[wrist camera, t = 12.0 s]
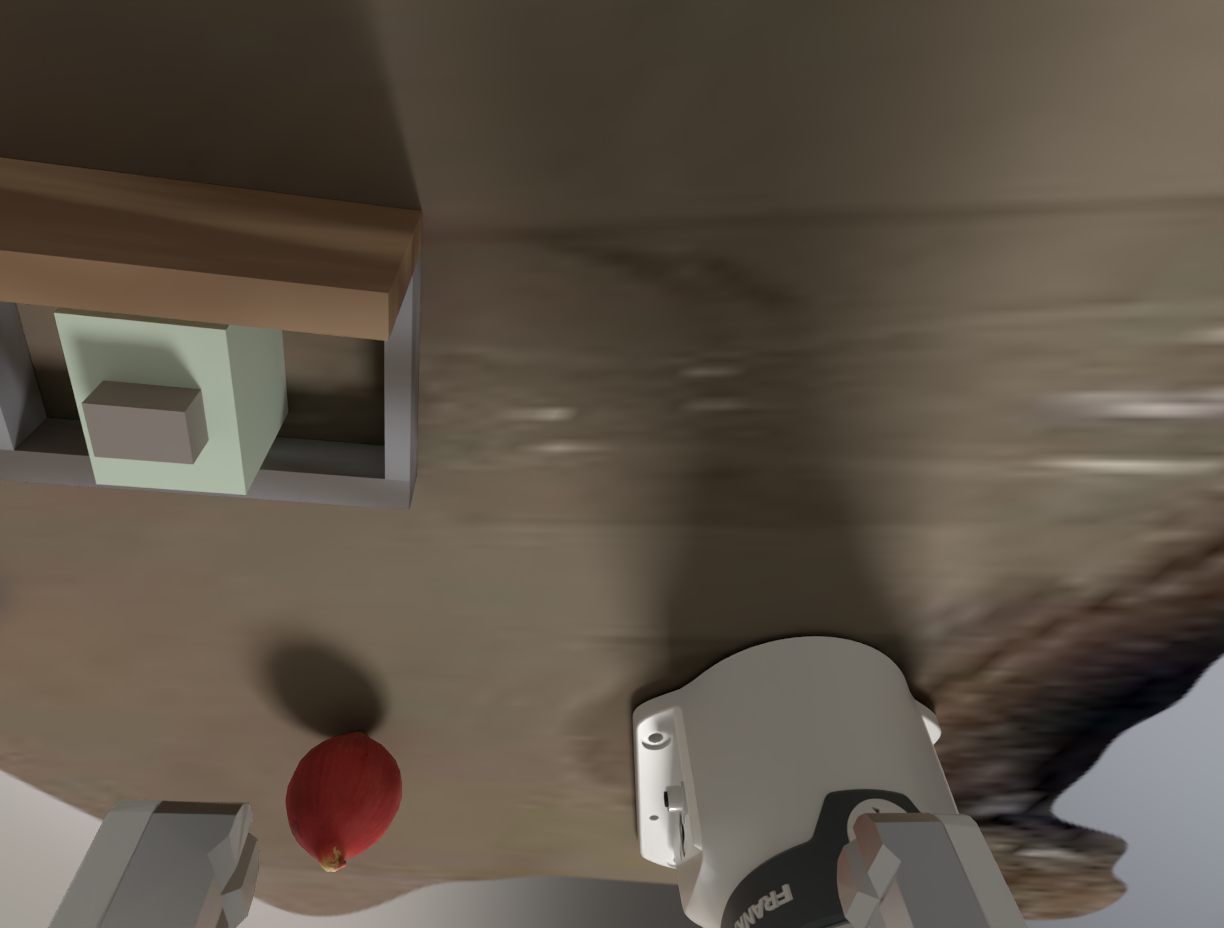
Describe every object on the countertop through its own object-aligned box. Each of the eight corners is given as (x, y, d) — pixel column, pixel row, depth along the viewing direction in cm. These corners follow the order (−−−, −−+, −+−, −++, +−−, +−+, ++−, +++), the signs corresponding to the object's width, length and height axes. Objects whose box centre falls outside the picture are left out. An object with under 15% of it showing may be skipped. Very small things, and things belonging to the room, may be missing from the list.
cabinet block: (289, 411, 34) (232, 520, 27) (162, 400, 33) (76, 509, 27) (277, 264, 30) (209, 350, 24) (135, 247, 29) (27, 333, 23)
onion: (367, 779, 48) (340, 915, 41) (284, 738, 45) (240, 877, 39) (430, 732, 46) (412, 867, 39) (347, 687, 43) (312, 824, 37)
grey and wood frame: (416, 476, 36) (389, 600, 29) (29, 445, 33) (-96, 573, 27) (422, 211, 29) (388, 293, 23) (-58, 149, 27) (-253, 221, 20)
